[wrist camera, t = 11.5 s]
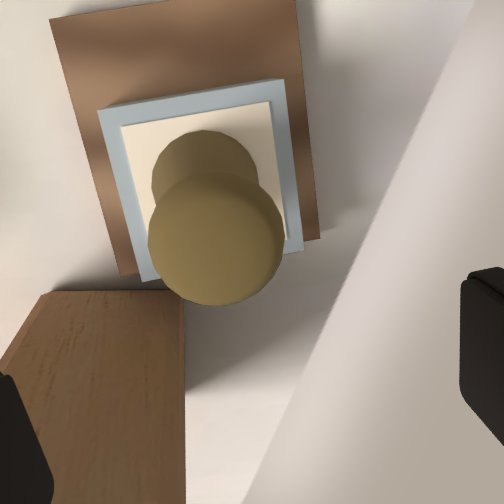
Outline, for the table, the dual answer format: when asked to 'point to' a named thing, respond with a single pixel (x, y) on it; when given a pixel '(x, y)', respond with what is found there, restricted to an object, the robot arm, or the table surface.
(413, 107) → the table surface
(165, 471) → the block
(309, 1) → the table surface
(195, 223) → the olive pawn
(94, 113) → the brown board
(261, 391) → the table surface
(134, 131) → the slate plinth
